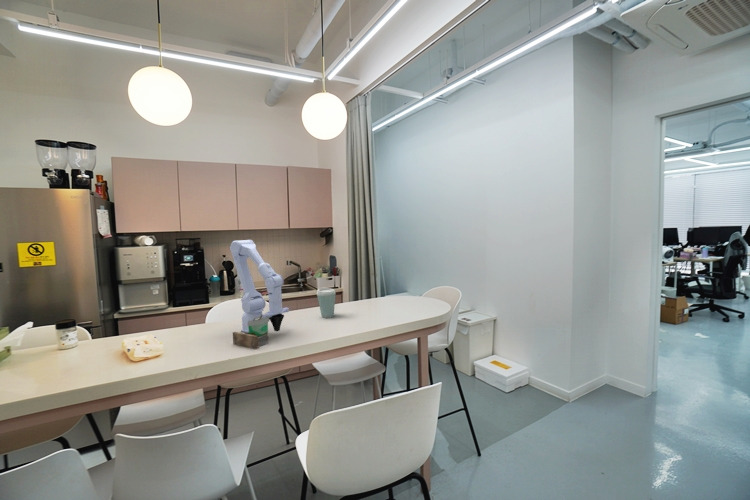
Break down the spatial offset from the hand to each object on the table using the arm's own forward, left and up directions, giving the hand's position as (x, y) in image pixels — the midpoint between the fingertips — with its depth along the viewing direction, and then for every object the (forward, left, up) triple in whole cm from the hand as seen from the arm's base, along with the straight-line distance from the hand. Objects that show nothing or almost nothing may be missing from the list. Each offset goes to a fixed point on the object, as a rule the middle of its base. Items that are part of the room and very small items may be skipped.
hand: (277, 330), depth 153 cm
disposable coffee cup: (+3, +33, -2) cm, 34 cm away
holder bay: (0, -15, -1) cm, 15 cm away
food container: (0, -9, -2) cm, 9 cm away
